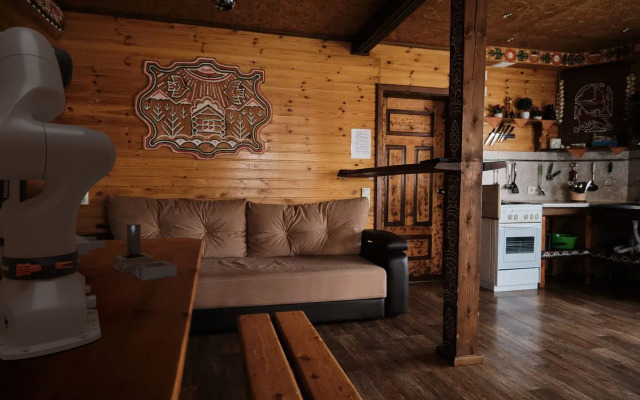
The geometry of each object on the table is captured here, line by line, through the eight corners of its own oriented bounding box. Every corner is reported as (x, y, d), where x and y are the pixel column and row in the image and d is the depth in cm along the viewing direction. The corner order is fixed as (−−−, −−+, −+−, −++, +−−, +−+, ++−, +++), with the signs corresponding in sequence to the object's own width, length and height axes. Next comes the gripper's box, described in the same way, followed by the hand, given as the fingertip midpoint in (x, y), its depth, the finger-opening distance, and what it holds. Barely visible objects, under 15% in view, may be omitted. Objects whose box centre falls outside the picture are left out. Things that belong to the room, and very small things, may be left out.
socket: (176, 275, 115) (176, 265, 115) (143, 280, 108) (143, 270, 108) (164, 269, 122) (164, 260, 122) (131, 274, 115) (131, 264, 115)
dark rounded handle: (142, 268, 122) (142, 225, 122) (129, 270, 120) (128, 225, 119) (138, 266, 125) (138, 223, 125) (124, 268, 122) (124, 224, 122)
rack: (153, 269, 122) (153, 256, 122) (122, 273, 116) (122, 260, 116) (143, 264, 129) (143, 252, 129) (114, 268, 123) (113, 255, 122)
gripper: (50, 239, 98) (110, 235, 108) (38, 230, 113) (91, 227, 123) (50, 263, 99) (110, 257, 108) (38, 252, 113) (91, 247, 123)
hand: (100, 241), depth 115 cm, fingers open, 8 cm apart
